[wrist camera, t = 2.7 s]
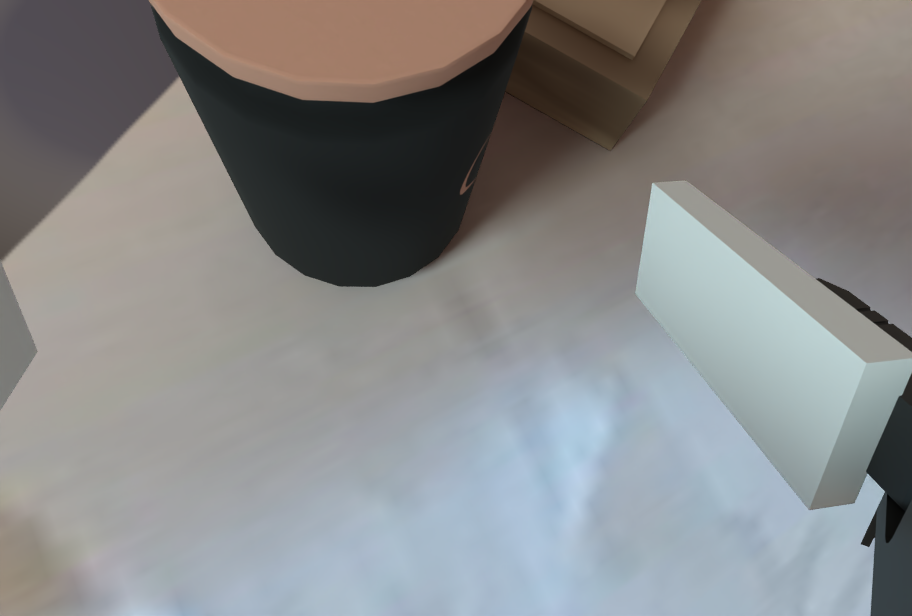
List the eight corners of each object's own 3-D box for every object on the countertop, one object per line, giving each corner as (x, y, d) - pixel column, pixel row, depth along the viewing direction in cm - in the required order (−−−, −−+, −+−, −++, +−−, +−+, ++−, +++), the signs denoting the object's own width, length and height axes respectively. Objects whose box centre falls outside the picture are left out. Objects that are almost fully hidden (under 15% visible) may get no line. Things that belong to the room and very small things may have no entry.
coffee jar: (483, 278, 33) (602, 62, 15) (263, 309, 31) (120, 109, 14) (445, 86, 35) (512, -289, 18) (238, 106, 34) (89, -284, 16)
